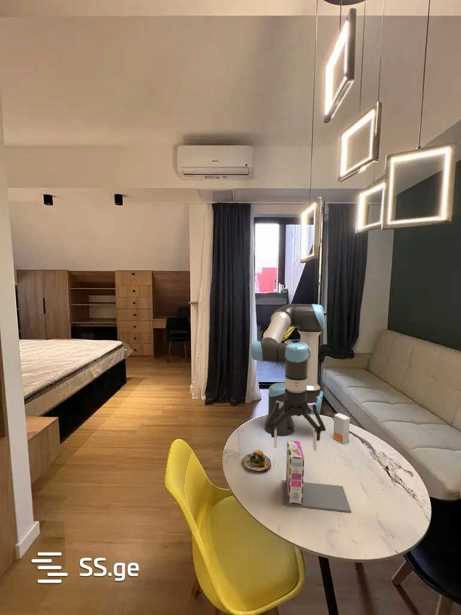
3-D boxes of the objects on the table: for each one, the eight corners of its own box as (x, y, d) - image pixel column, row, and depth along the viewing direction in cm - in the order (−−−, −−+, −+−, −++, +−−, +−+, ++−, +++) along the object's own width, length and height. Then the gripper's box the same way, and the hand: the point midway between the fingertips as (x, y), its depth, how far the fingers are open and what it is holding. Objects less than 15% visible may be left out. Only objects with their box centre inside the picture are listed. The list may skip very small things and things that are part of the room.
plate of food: (236, 462, 123) (236, 445, 122) (258, 453, 129) (258, 437, 129) (254, 478, 113) (254, 460, 112) (277, 468, 119) (277, 450, 119)
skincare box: (332, 438, 142) (333, 414, 141) (339, 436, 144) (339, 412, 143) (343, 444, 136) (344, 419, 135) (349, 442, 138) (350, 417, 137)
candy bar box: (303, 505, 98) (304, 458, 97) (288, 504, 99) (289, 457, 97) (299, 482, 109) (299, 440, 108) (285, 481, 110) (286, 439, 108)
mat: (281, 481, 111) (281, 480, 111) (342, 487, 107) (342, 485, 107) (283, 505, 99) (283, 503, 99) (351, 512, 96) (351, 511, 96)
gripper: (259, 391, 99) (258, 450, 101) (335, 395, 95) (333, 456, 98) (260, 383, 106) (259, 438, 109) (331, 386, 103) (329, 443, 105)
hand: (294, 447), depth 103 cm, fingers open, 13 cm apart
